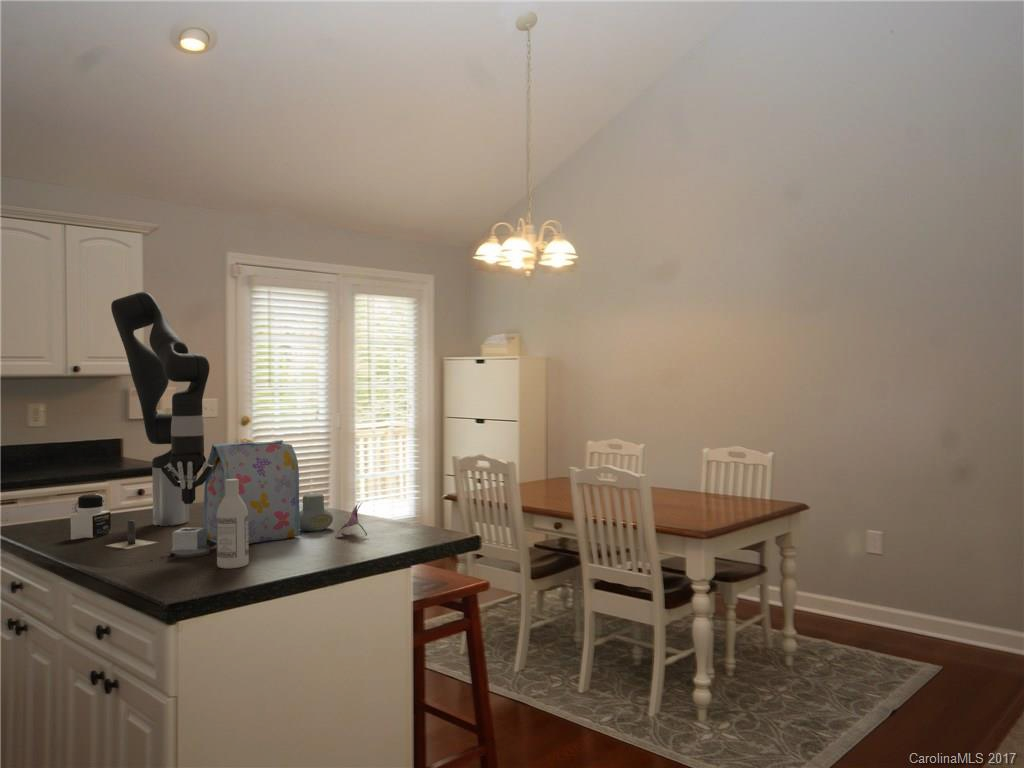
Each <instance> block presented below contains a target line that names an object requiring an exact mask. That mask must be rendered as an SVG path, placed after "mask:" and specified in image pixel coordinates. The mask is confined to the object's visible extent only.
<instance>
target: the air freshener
mask: <svg viewBox="0 0 1024 768" xmlns="http://www.w3.org/2000/svg"><path fill="white" fill-rule="evenodd" d="M324 499H325V498H324V495H323V494H321V493H309V494H308V493H307V494H304V495H303V496H302V510H300V531H304V532H309V533H310V532H311V533H317V532H322V531H324V530H326V529H328V528H329V527H330V526H331V525H332V523H333V521H334V516H333V514H332V513H331V512H330V511H329V510H328V509H325V501H324Z"/></svg>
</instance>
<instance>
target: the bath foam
mask: <svg viewBox="0 0 1024 768" xmlns="http://www.w3.org/2000/svg"><path fill="white" fill-rule="evenodd" d="M225 494H226V495H225V497H224V498H223V500H222V502H221V503H220V505H219V507H218V510H217V517H216V526H217V543H216V566H217V567H218V568H221V569H231V570H232V569H238V568H239V569H240V568H244V567H246V566H248V564H249V562H250V560H249V559H250V558H249V556H250V555H249V551H250V550H249V548H250V546H249V541H248V511H247V507H246V505H245V503H244V502H243V500H242V499H241V497H240V496H239V480H238V479H227V480H225Z"/></svg>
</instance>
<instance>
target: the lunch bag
mask: <svg viewBox="0 0 1024 768" xmlns="http://www.w3.org/2000/svg"><path fill="white" fill-rule="evenodd" d="M296 455H297V454H296V452H295V450H294V447H293V445H292V444H289V443H284V440H283V439H281V440H280V439H279V440H278V439H276V440H273V441H256V442H255V441H248V442H227V443H217V444H215V443H212V444H211V449H210V452H209V456H208V458H207V460H206V462H207V463H208V464H210V465H214V467H215V469H214V470H213V471H212V473H211V474H210V475H209V477H208V478H207V479H206V480H205V482H204V488H203V489H204V490H203V491H204V493H203V494H204V495H203V527H206V540H208V541H211V542H213V543H216V544H217V526H216V517H217V510H218V507H219V505H220V503H221V502H222V500H223V498H224V497H225V495H226V494H225V480H227V479H238V480H239V496H240V497H241V499H242V500H243V502H244V503H245V505H246V507H247V511H248V541H249V544H256V543H263V542H271V541H278V540H285V539H290V538H294V537H300V534H301V533H300V531H301V529H300V511H301V510H300V508H301V507H300V469H299V461H298V457H297V456H296Z"/></svg>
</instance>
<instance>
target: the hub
mask: <svg viewBox="0 0 1024 768" xmlns="http://www.w3.org/2000/svg"><path fill="white" fill-rule="evenodd" d="M169 551H170V553H171V554H169V555H170V556H169V557H171V558H176V559H187V558H189V557H190V558H197V557H202V556H205V555H208V554H209V553H210V545H209V544H206V546H204V547H202V548H200V549H199V550H180V551H173V547H171V548H170V550H169Z"/></svg>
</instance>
